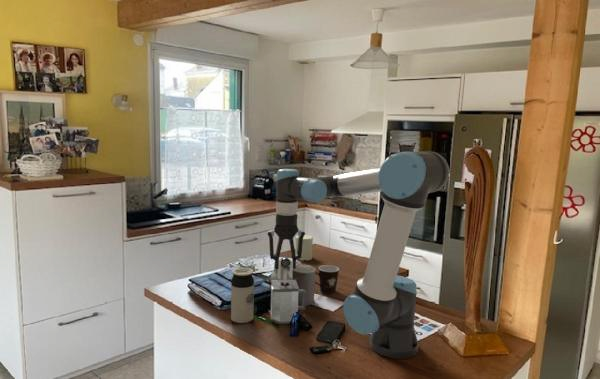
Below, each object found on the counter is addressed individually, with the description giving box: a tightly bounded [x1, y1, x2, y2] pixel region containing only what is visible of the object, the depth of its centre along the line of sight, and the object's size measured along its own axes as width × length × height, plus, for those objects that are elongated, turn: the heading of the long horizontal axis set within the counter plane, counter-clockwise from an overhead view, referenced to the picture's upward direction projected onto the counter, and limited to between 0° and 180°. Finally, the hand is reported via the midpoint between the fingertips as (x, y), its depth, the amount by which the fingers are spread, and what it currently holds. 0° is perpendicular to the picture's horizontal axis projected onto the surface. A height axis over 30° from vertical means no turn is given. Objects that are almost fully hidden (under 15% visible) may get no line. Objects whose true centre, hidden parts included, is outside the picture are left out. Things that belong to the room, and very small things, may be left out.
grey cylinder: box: [290, 264, 316, 307], centre depth 170 cm, size 10×10×15 cm
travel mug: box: [230, 267, 255, 324], centre depth 153 cm, size 8×8×18 cm
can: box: [295, 234, 314, 262], centre depth 227 cm, size 9×9×12 cm
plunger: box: [280, 257, 290, 286], centre depth 153 cm, size 7×7×18 cm
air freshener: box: [270, 261, 291, 283], centre depth 188 cm, size 11×8×10 cm
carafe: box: [269, 279, 306, 326], centre depth 155 cm, size 10×13×13 cm
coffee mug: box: [315, 264, 340, 295], centre depth 182 cm, size 12×9×10 cm
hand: (285, 277), depth 153 cm, fingers closed on plunger, 4 cm apart
